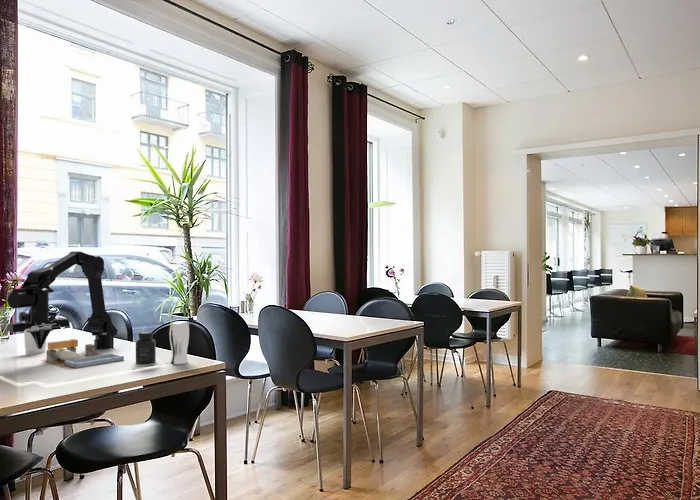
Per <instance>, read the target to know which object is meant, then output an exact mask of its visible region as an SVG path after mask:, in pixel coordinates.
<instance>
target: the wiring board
mask: <svg viewBox="0 0 700 500" xmlns="http://www.w3.org/2000/svg"><path fill="white" fill-rule="evenodd" d="M84 345H85V347H84V349H85V350H84V353H82V354H78V358H84V357H90V356H97V355H104V354H103V353H99V352H95V351H96V349H95V345H94V344H91V343H88V344H84ZM65 349H66V350H70V351H73V352H76V353H77V347H68V348H65ZM40 361H42V362H44V363H47V364H50V365H54V366H56V367H59V368H62V369H66V370H68V371H70V370H75V369H78V368H73V367H70V366H67V365H64V361H63V360H60V359H57V358H56V350H55V349H53V350H48V349H46V359H42V360H40ZM125 361H126V360H125V359H124V360H123V361H122V362H125ZM119 362H120V361H117V362H116V363H119ZM111 363H114V362H110V363H109V364H111ZM106 364H107V365H108V363H104V364H103V365H106ZM99 365H102V364H98V365H97V366H99ZM93 366H96V365H92V366H91V367H93ZM87 367H90V366H86V367H85V368H87ZM82 368H84V367H80V368H79V369H82Z"/></svg>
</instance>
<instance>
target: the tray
mask: <svg viewBox="0 0 700 500" xmlns="http://www.w3.org/2000/svg"><path fill="white" fill-rule="evenodd" d="M123 360H125V359H124V355H120V354H117V353H106V354H103V355H97V356H90V357H84V358H77V359H70V360H64V365H67V366H70V367H73V368H77V369H81V368H80V367H83V368H87V367H86V366H89V367H93V366H92V365H95V366H99V365H98V364H101V365H105V364H104V363H107V364H111V363H110V362H113V363H118V362H117V361H119V362H124V361H123Z"/></svg>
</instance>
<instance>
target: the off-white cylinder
mask: <svg viewBox="0 0 700 500" xmlns="http://www.w3.org/2000/svg"><path fill="white" fill-rule="evenodd" d="M54 350H56V358H57V359H60V360H63V361H64V360H70V359H77V358H78V355H79V354H78V352H77V351H76V352H73V351H70V350H66V348H61V349H54Z"/></svg>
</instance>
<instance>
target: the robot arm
mask: <svg viewBox="0 0 700 500" xmlns="http://www.w3.org/2000/svg"><path fill="white" fill-rule="evenodd" d="M75 265H77V266H79V267H80V269H81V271H82V273H83V275H85V277H86V279H87V282H88V290H89V299H90V304H91V312H92V313H91V315H90V316H89V317H87V318H86V319H87V327H88V328H89V330H90V331H91V332H90V333H91V336H95V339H94V340H93V345H95V351H96V350H108V349H113V350H116V348H114V341H115V340H114V339H115V338H114V336H117V334H118V329H117V327H116V326H115V325H114V324H113V321H112V318H111V315H110V314H109V313H108V312H107V309H106V306H105V305H106V303H105V295H104V288H103V281H102V276H103V273H104V271H105V261H104V258H103V257H101V256H99V255H92V254H88V253H85V252H84V251H78V250H75V251H70V252H68V254H66V255H65V256H63V257H61V258H60V259H58V260H56V261H55V262H53V263H51V264H49V265H48V266H46V267H42V268H37V269H35V270H32V271H31V270H30V272H29V273H27V277H26V279H25V280H24V282H23V283H22V284H21V286H20V288H13V289H11V290H12V291H11V293H10V294H9V295H8V297H7V303H8V306H9V308H11V309H13V310H15V309H22V308H23V309H24V308H28V309H29V310H28V313H27V312H26V311H25V312H24V311H22V312H19V313H18V321H17V322H9V324H8V325H7V332H9V333H21V332H22V333H24V331H25V330H26V332H30V333H31V335H32V336H33V338H34V340H35V343H36V345H37V348H38V349H41V348H42V346H43V344H44V342H45V340H46V341H47V339H46V338H48V336H49V334H50V333H51V332H53V331H54V329H53V327H57V326H58V327H60V328H67V327H70V325H71V323H70V322H71V321H70V320H69V318H65V317H60V318H53V319H52V320H50V318H49V317H50V316H49V315H50V314H49V312H50V311H51V308H50V306H49V303H50V300H49V293H54V290H53V288H51V286H50V285H52V284H53V283H54V282H55V281H56V279H57V277H58V276H59V275H61V274H62V273H64V272H66V271H67V270H68V269H70V268H71V267H73V266H75ZM38 328H39V330H38Z"/></svg>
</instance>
